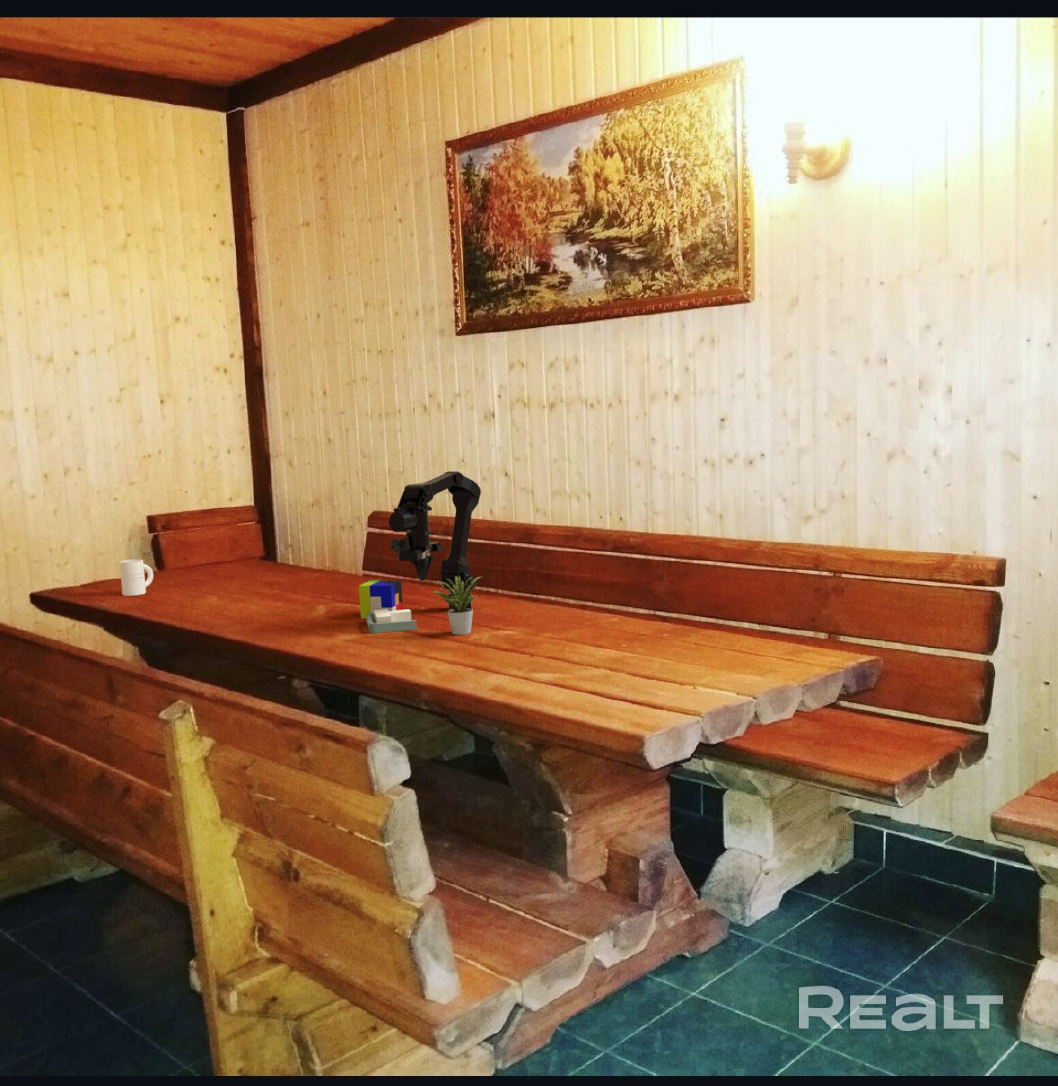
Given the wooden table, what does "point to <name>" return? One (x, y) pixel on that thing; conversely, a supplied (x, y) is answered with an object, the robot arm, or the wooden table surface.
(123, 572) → the mug
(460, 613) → the house plant
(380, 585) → the puzzle toy
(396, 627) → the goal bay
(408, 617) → the t block
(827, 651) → the wooden table surface
